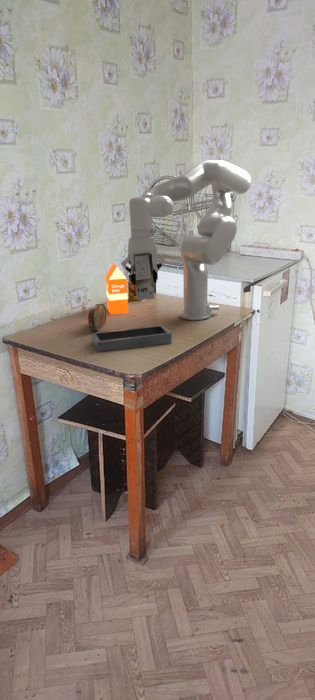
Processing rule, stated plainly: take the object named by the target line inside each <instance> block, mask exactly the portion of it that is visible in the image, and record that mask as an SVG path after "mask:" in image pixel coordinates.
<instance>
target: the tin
mask: <svg viewBox="0 0 315 700" xmlns="http://www.w3.org/2000/svg"><path fill="white" fill-rule="evenodd" d="M106 309H107V308H106V306H105V304H104V303H97V304H95V305H94V306H93V307H91V308H90V310H89V311H88V316H87V320H88V325H89V326H88V328H89V329H90V331H95V332H100V330H101V329H102V327H104V326H105V324H106V321H107V310H106Z"/></svg>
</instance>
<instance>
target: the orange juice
mask: <svg viewBox="0 0 315 700" xmlns="http://www.w3.org/2000/svg"><path fill="white" fill-rule="evenodd" d="M127 280H128V279H127V277H126V275H124V273H123V272H122V271H121V270H120V268H119V267H118V265H117V264H116V263H115V262H113V263H112V264H111V266H110V268H109V269H108V271H107V273H106V275H105V289H106V290H105V291H106V292H105V293H106V302H107V303H106V304H107V305H106V306H107V308H106V309H107V311H108V312H109V314H110V315H119V314H129V304H128V303H129V302H128V299H129V293H128V281H127Z"/></svg>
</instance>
